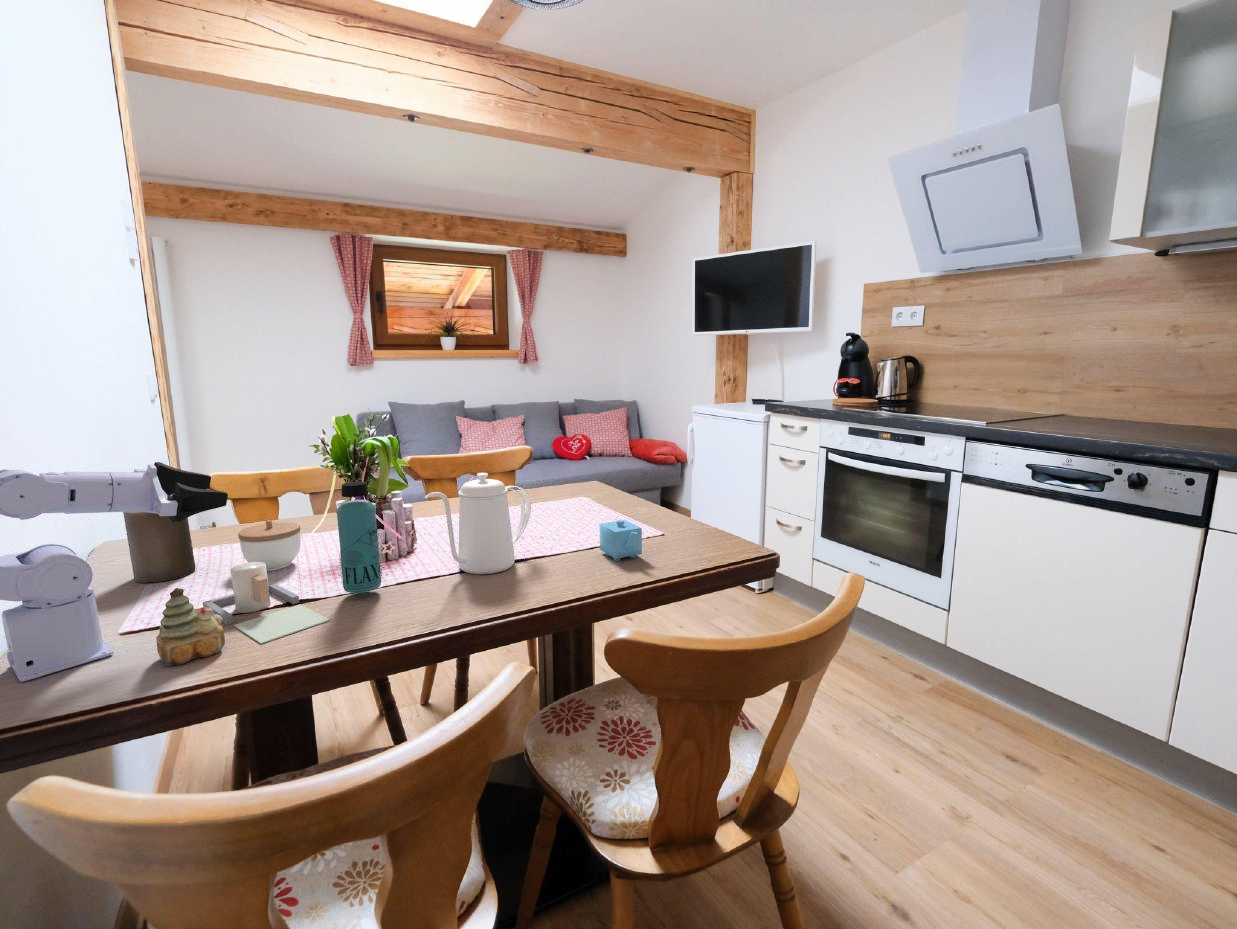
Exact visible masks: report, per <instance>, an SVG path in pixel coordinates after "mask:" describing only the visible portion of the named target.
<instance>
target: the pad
mask: <svg viewBox="0 0 1237 929" xmlns="http://www.w3.org/2000/svg"><path fill="white" fill-rule="evenodd" d="M327 622H330V618H328V617H325V616H323V615H322V614H319V613H318V612H316V611H314V610H312V609H310V608H308V607H306V606H305V605H302V604H301V603H300V604H297V605H294V606H290V607H287V608H284V609H280V610H278V611H274V612H271V613H268V614H265V615H262V616H259V617H256V618H252V619H249V620H246V621H242V622H239V623H236V624H233V627H234V628H236V629H237V630H239V631H241V632H242V633H243V634H245V635H246V636H248V637H249V638H251V639H252V640H254V641H255V642H257V643H258V644H259V645H264V644H266V643H269V642H272V641H275V640H278V639H280V638H283V637H287V636H289V635H292V634H295V633H298V632H300V631H303V630H307V629H310V628H313V627H315V626H318V625H321V624H323V623H327Z"/></svg>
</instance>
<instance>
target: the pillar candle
mask: <svg viewBox="0 0 1237 929" xmlns="http://www.w3.org/2000/svg"><path fill="white" fill-rule="evenodd" d="M122 513H123V520H124V527H125V532H126V536H127V537H126V538H127V544H128V550H129V557H130V561H131V562H130V563H131V566H132V574H133V579H134V581H135V582H136V583H139V582H140V583H139V584H147V582H154V583H159V582H164V581H165V582H166V581H172V580H176V579H179V578H180V579H181V578H184V577H186V576H189V575H190V574H192V573H193V572H194V573H195V571H196V562H195V556H194V549H193V542H192V539H191V538H192V537H191V531H190V530H191V529H190V524H189V517H188V518H186V519H184V520H182V521H181V522H172V521H171V520H170V519H169V516H159V514H157V513H149V512H145V511H132V512H122Z"/></svg>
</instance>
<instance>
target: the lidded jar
mask: <svg viewBox="0 0 1237 929" xmlns="http://www.w3.org/2000/svg"><path fill="white" fill-rule="evenodd" d="M237 536H238V539H239V546H240V550H241V553H242V555H243V558H244V560H245V561H246V563H249V562H264V563H266V570H267V572H272V570H273V571H278V570H277V569H279V570H282V569H285V568H288V567H289V565H290V564H291V565H292V562H293V561H294V560H295V559H296V557H298V554H299V552H300V548H301V540H302V539H301V525H300V524H299V523H297V522H293V521H276V522H273V521H272V520H271V519H270V520H269V519H268V520H265V523H261V524H255V525H252V526H251V525H250V526H249V527H246V528H243V529H241V530H240V531H238V534H237ZM291 565H290V566H291ZM287 566H288V567H287ZM281 568H282V569H281Z"/></svg>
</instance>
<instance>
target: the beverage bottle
mask: <svg viewBox="0 0 1237 929" xmlns="http://www.w3.org/2000/svg"><path fill="white" fill-rule="evenodd" d="M368 494H369V490H368V486H367V483H366V481H351V482H350V481H348V482H345V483H342V484H341V497H342V498H358V497H363V496H367V495H368ZM335 510H336V518H337V527H338V529H337V530H338V539H339V549H340V550H339V556H340V561H339V563H340V568H341V569H340V573H341V580H342V581H341V584H342V588H343V589H344V591H345V592H346V593H350V594H359V593H360V594H361V593H367V592H370V591H373V590H376V589H377V588H378V589H379V588H380V586H381V584H382V580H383V579H382V574H383V573H382V570H381V565H382V562H381V558H380V557H381V554H380V550H379V549H380V548H379V537H380V536H379V534H378V532H379V527H378V525H379V524H378V522H377V513H376V510H377V508H376V505H375V504H374V503H373V502H371V501H369V499H367V500H366V499H354V500H347V501H345V502H343V503H342V504H340V505H339V507H338V508H336V509H335Z"/></svg>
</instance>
